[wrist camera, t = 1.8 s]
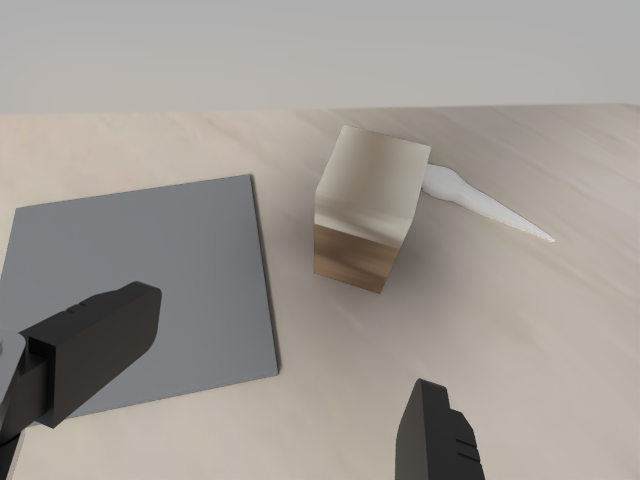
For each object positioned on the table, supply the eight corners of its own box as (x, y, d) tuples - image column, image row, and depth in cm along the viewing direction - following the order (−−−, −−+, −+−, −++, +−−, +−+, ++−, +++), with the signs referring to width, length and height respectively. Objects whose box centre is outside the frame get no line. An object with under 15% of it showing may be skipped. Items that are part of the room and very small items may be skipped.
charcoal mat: (250, 178, 32) (249, 174, 31) (278, 374, 24) (277, 373, 24) (21, 212, 29) (16, 208, 29) (-26, 438, 22) (-34, 437, 21)
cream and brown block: (395, 236, 29) (431, 146, 20) (379, 293, 27) (412, 220, 18) (334, 218, 30) (343, 124, 21) (313, 272, 28) (314, 192, 19)
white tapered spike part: (376, 173, 32) (380, 158, 31) (389, 153, 33) (394, 138, 32) (544, 259, 29) (560, 248, 28) (552, 234, 31) (568, 223, 29)
